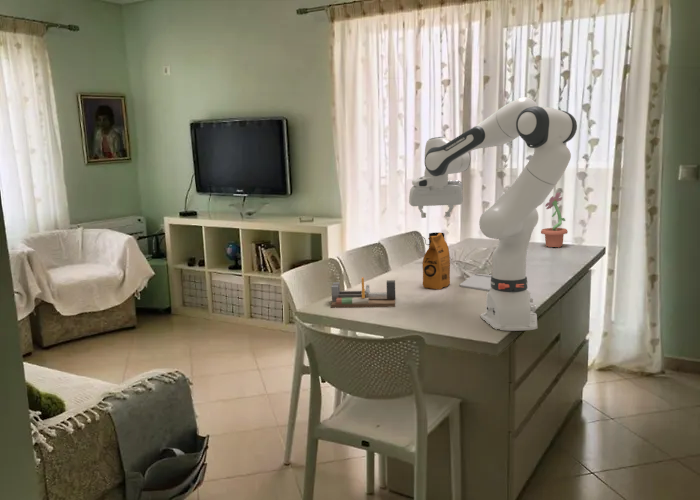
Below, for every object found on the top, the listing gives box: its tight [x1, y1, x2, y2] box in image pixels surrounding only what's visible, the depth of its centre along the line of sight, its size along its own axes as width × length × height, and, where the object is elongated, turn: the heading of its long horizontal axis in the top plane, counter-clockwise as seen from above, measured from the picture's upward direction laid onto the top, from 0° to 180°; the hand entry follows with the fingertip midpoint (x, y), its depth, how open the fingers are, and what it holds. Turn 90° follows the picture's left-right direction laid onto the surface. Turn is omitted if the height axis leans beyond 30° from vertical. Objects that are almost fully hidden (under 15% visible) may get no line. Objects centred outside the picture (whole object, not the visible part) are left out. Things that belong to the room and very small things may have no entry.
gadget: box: [458, 273, 492, 292], centre depth 256 cm, size 23×15×4 cm, turn 137°
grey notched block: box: [361, 279, 396, 300], centre depth 232 cm, size 6×13×7 cm, turn 85°
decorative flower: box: [540, 192, 568, 248], centre depth 330 cm, size 15×14×30 cm
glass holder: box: [416, 232, 446, 256], centre depth 299 cm, size 9×14×15 cm, turn 81°
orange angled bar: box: [361, 277, 366, 298], centre depth 228 cm, size 3×1×8 cm, turn 175°
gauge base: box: [330, 281, 396, 309], centre depth 234 cm, size 14×24×7 cm, turn 85°
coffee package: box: [422, 232, 451, 291], centre depth 254 cm, size 10×12×22 cm
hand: (435, 217), depth 231 cm, fingers open, 8 cm apart
